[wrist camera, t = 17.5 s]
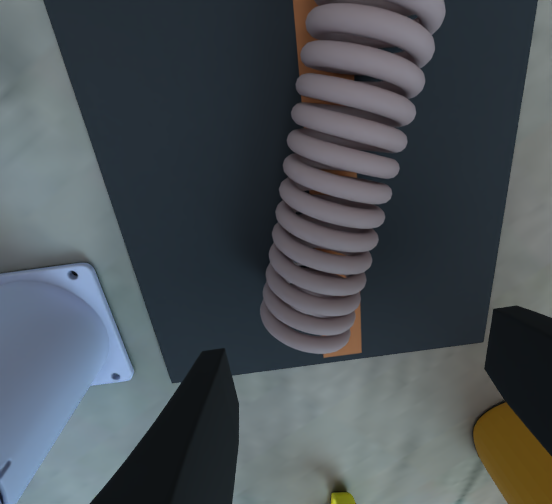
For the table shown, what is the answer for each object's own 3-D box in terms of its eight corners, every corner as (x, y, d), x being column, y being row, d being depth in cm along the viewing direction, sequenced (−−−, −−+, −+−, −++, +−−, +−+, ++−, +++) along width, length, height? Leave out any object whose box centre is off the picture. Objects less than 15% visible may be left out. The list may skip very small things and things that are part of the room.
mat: (172, 381, 21) (171, 384, 21) (-27, -217, 11) (-33, -225, 10) (481, 340, 21) (484, 342, 20) (582, -306, 10) (589, -315, 10)
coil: (345, -241, 8) (251, 357, 14) (539, -209, 8) (353, 374, 14) (327, -111, 12) (261, 303, 19) (451, -89, 12) (340, 316, 19)
